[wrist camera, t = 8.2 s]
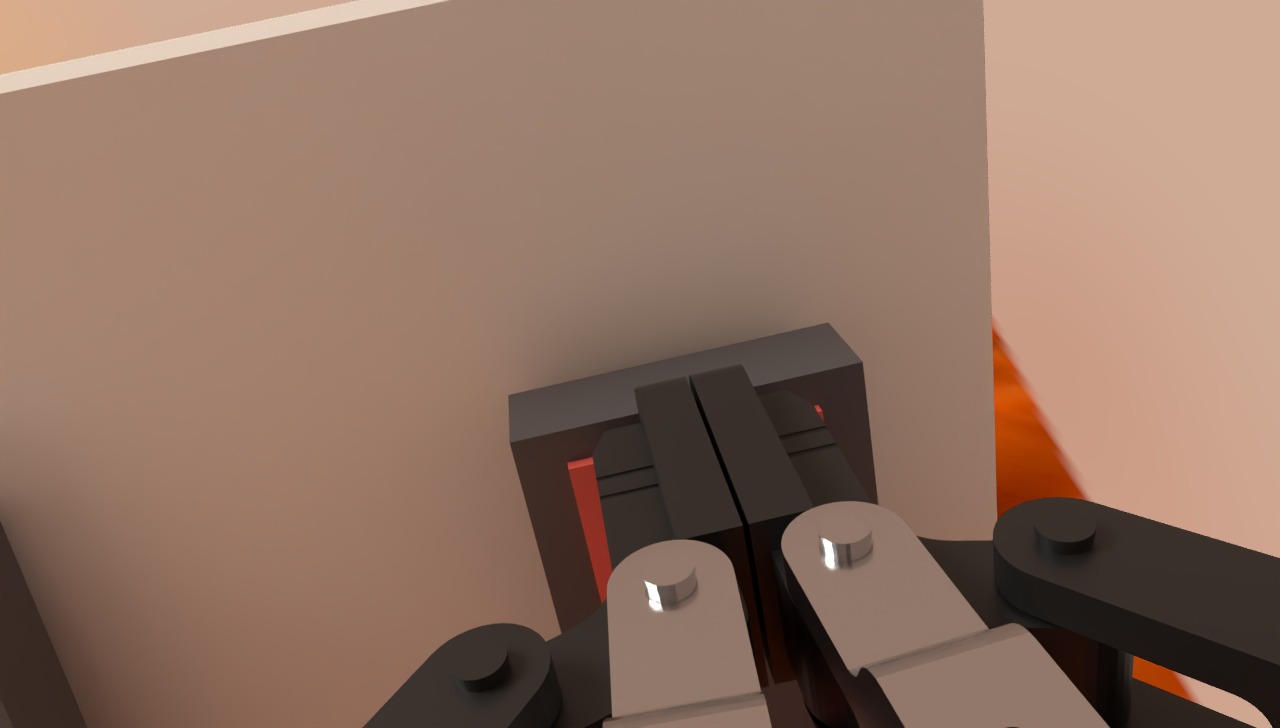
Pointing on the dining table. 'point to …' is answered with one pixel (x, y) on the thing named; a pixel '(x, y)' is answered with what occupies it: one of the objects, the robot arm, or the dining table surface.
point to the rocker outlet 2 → (584, 408)
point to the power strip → (444, 307)
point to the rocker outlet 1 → (29, 658)
